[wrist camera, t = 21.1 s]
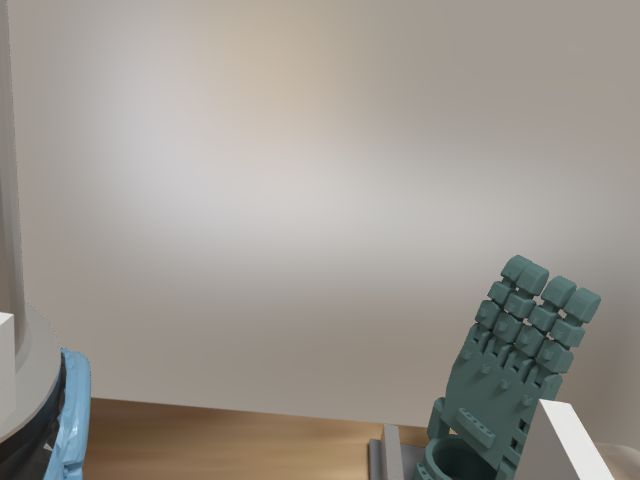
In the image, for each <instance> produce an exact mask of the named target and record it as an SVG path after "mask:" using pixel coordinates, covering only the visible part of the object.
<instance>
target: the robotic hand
mask: <svg viewBox="0 0 640 480" xmlns="http://www.w3.org/2000/svg"><path fill="white" fill-rule="evenodd" d="M501 276H503V277H504V278H503V280H502V282H500V281H497V282H494V284H493V286H492V287H491V289H490V291H489V293H488V295H487V296H489V297H490V298H492V300H491V301H489V300H484V301H482V303H481V305H480V308H479V310H478V312H477V315H476V317H475V320H476V321H477V322H478V323H475V324H474V325H473V326H472V327H471V328H470V331H469V333H468V336H467V338H466V341H465V343H464V345H463V347H462V349H461V351H460V353H459V355H458V357H457V359H456V361H455V363H454V365H453V367H452V371H451V374H450V378H449V381H448V384H447V388H446V397H445V398H444V397H442V398H438V399H437V400H436V401H435V402H434V406H433V410H432V414H431V418H430V421H429V425H428V429H427V435H428V437H429V439H430V442H429V444H428V445H427V446H426V448H425V452H424V456H423V460H422V464H420V463H416V465H415V469H414V473H413V477H412V480H452V479H451V478H449V477H448V476H451V477H455V478H458V479H462V480H514V476H515V473H516V470H517V467H518V464H519V461H520V458H521V454H522V451H523V448H524V445H525V442H526V439H527V435H528V432H529V429H530V426H531V423H532V420H533V417H534V413H535V410H536V407H537V404H538V401H539V399H543V400H549V401H554V399H555V397H556V395H557V392H558V390H559V388H560V386H561V383H562V376H561V375H559V374H558V373H567V371H568V369H569V367H570V365H571V363H572V361H573V354H572V352H570V351H569V349H570V347H571V346H572V347H578V346H579V344H580V342H581V340H582V338H583V336H584V334H585V330H584V329H583V328H582V327H581V326H582V324H583V322H584V323H589V322H590V321H591V319H592V317H593V315H594V314H595V312H596V310H597V308H598V306H599V304H600V301H601V298H600V296H599V295H597V294H595V293H593V292H591V291H589V290H587V289H585V288H580V289H578V290H577V291H576V287H577V286H576V284H575V283H574V282H572V281H570V280H568V279H566V278H564V277H562V276H557V277H555V278H554V279H553V280H551V281H550V282H549V284H548V285H547V287H546V289H545V290H544V292H543V293H542V295H541V299H542V300H544V303H543V305H537V306H536V302H535V301H533V300H532V299H533V297H534V295H535V296H539V295H540V293H541V292H542V290H543V288H544V286H545V284H546V282H547V279H548V277H549V271H548V270H547V269H544V268H543V267H541V266H539V265H537V264H534V263H533V262H532V261H530V260H528V259H526V258H524V257H522V256H520V255H516V256H514V257H513V258H511V259H510V260H509V261H508V262H507V264H506V266H505V267H504V269H503V271H502V272H501ZM516 287H518V288H519V290H518V291H517V290H515V289H516ZM504 309H505V310H507V311H508V313H507V312H505V311H504ZM560 309H562V310H563V311H564V312H565V313H566V314H567V316H566V317H565V319H564V318H562V317H561V316H560V315H559V314H558V311H559V310H560ZM524 318H528V320H527V321H528V322H529V323H531V324H532V326H528V325H525V324H524V323H523V319H524ZM548 332H550V334H549V335H550V336H551V337H553V338H554V340H549V338H548V337H546V335H547V333H548ZM513 343H515V344H513ZM535 358H536V359H535ZM450 427H451V428H452V429H453V430H454V431H455V432H456V433H457V434H458V435H455V434H449V430H450Z"/></svg>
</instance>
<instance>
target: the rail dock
mask: <svg viewBox="0 0 640 480" xmlns="http://www.w3.org/2000/svg"><path fill="white" fill-rule="evenodd" d="M424 452H425V448H423V447H417V446H411V445H405V444H400V439H399V430H398V426H394V425H388V424H384V426H383V430H382V435H381V440H374V439H370V442H369V474H370V480H412V477H413V473H414V469H415V465H416V463H420V464H422V460H423V456H424ZM448 477H449V478H451V479H452V480H462V479H458V478H455V477H451V476H448Z"/></svg>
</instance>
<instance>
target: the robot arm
mask: <svg viewBox="0 0 640 480" xmlns="http://www.w3.org/2000/svg"><path fill="white" fill-rule="evenodd" d="M9 45H10V44H9V26H8V9H7V0H0V480H82V466H83V464H84V458H85V452H86V447H87V439H88V429H89V416H90V400H91V371H90V364H89V361H88V359H87V358H86V356H85V355H83V354H82V353H80V352H72V351H69V350H68V349H66V348H65V349H63V348H60V346H59V341H58V338H57V335H56V332H55V330H54V328H53V327H52V325H51V324H50V322H49V321H48V320H47V319H46V318H45V317H44V316H43V315H42V314H41V313H40V312H39V311H38V310H36V309H35V308H34V307H32V306H31V305H29V304H28V303H26V302H24V287H23V270H22V269H23V268H22V251H21V234H20V217H19V199H18V183H17V165H16V149H15V132H14V114H13V98H12V97H13V96H12V78H11V62H10V46H9ZM514 480H614V478H613V476H612V475H611V473H610V471H609V470H608V468H607V466H606V464H605V463H604V461H603V459H602V458H601V456H600V454H599V453H598V451H597V449H596V447H595V446H594V444H593V442H592V441H591V439H590V437H589V435H588V434H587V432H586V431H585V429H584V427H583V425H582V424H581V422H580V420H579V418H578V417H577V415H576V413H575V412H574V410H573V408H572V406H571V405H570V404H568V403H562V402H556V401H549V400H543V399H539V401H538V404H537V407H536V410H535V413H534V417H533V420H532V423H531V426H530V429H529V432H528V435H527V439H526V442H525V445H524V448H523V451H522V454H521V458H520V461H519V464H518V467H517V470H516V473H515V476H514Z"/></svg>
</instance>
